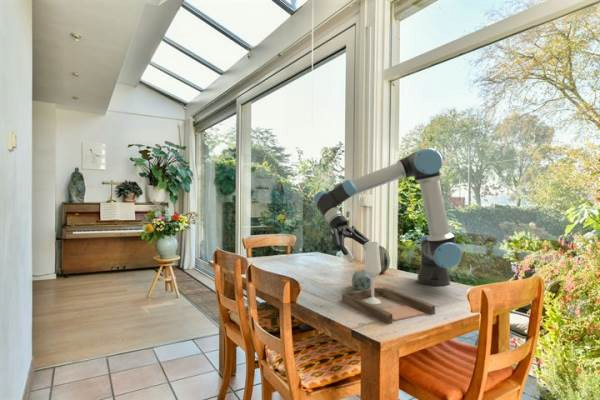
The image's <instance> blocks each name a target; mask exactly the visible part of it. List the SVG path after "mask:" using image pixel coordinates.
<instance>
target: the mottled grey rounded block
mask: <svg viewBox="0 0 600 400" xmlns="http://www.w3.org/2000/svg"><path fill="white" fill-rule="evenodd" d="M351 285H352V288H354V289H355V291H359V290H365V289H371V277H369V276H368V275H367V274H366V272H365V270H357V271H355V272H354V274H353V275H352V277H351Z"/></svg>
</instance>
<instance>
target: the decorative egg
mask: <svg viewBox="0 0 600 400" xmlns="http://www.w3.org/2000/svg"><path fill="white" fill-rule="evenodd" d="M379 253H380V263H381V272H380V273H379V274H383V273H385V272H386V271H387V270H388V269H389V267H390V264H391V258H390V254H389V252H388V250H387V248H385V247H384V246H382V245H379Z"/></svg>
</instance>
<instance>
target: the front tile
mask: <svg viewBox="0 0 600 400" xmlns="http://www.w3.org/2000/svg"><path fill="white" fill-rule="evenodd" d="M383 310H384V311H386V312H389V313H391V314H392V321H394V322H395V321H396V322H397V321H401V320H405V319H410V318H415V317H419V316H424V315H425V314H426V312H423V311H421V310H418V309H416V308H413V307H411V306H408V305H406V304H403V305H401V306H395V307H390V308H385V309H383Z"/></svg>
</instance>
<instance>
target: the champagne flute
mask: <svg viewBox="0 0 600 400" xmlns="http://www.w3.org/2000/svg"><path fill="white" fill-rule="evenodd" d="M379 246H380V243H379V242H377V241H369V242H367V245H366V251H365V258H364V268H363V271H365V272H366V274H367V275H368V276H369V277H371V286H370V289H371V297H370V298H365V300H364V302H366V303H369V304H371V305H378V304H382V300H380V299H378V298H376V296H375V297H374V288H375V278H377V277H378V276H379V275H380V274H381V273H380V272H381V263H380V253H379Z"/></svg>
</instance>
